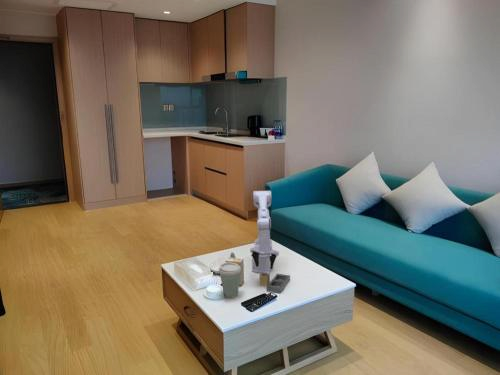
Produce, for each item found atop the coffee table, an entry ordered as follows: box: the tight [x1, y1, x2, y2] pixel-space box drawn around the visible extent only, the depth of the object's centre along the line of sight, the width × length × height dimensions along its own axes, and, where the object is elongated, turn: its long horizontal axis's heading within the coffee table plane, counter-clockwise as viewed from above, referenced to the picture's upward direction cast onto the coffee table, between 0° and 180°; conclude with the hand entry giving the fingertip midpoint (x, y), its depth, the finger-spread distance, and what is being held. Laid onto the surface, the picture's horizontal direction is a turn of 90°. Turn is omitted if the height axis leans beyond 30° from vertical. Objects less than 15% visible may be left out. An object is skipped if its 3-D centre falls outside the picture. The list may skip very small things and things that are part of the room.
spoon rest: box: [209, 251, 237, 275], centre depth 216 cm, size 24×12×7 cm, turn 162°
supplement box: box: [226, 257, 245, 287], centre depth 196 cm, size 8×5×13 cm, turn 71°
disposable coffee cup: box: [219, 262, 241, 299], centre depth 183 cm, size 11×11×15 cm
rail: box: [266, 273, 291, 294], centre depth 194 cm, size 7×16×2 cm, turn 158°
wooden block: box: [259, 272, 271, 288], centre depth 195 cm, size 4×4×6 cm
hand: (264, 267), depth 193 cm, fingers open, 7 cm apart
